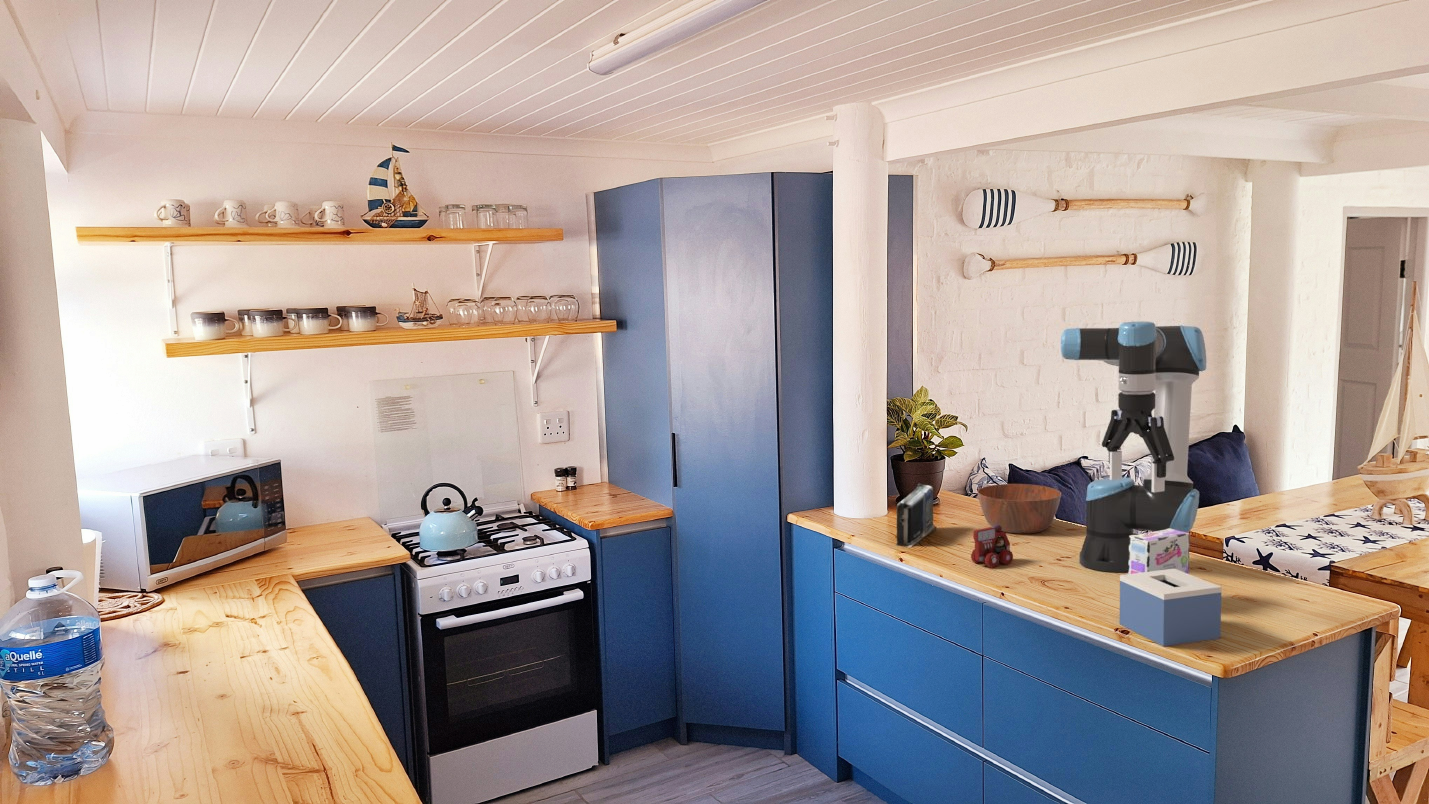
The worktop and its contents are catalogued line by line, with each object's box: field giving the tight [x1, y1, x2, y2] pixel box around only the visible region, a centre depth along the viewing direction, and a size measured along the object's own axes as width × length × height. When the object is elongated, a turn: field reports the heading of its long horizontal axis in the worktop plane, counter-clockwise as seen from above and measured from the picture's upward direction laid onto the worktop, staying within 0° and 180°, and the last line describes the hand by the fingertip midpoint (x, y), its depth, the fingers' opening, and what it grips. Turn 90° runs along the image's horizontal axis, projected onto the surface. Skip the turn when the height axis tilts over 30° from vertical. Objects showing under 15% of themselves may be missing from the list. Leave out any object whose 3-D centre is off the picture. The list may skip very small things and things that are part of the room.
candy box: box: [1127, 528, 1190, 574], centre depth 221 cm, size 14×6×16 cm, turn 114°
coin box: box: [1119, 569, 1222, 647], centre depth 202 cm, size 14×14×11 cm
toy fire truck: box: [970, 525, 1014, 569], centre depth 256 cm, size 7×12×10 cm, turn 118°
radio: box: [895, 483, 938, 549], centre depth 285 cm, size 23×9×15 cm, turn 142°
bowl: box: [976, 483, 1062, 535], centre depth 292 cm, size 25×25×11 cm
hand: (1136, 485), depth 210 cm, fingers open, 13 cm apart
